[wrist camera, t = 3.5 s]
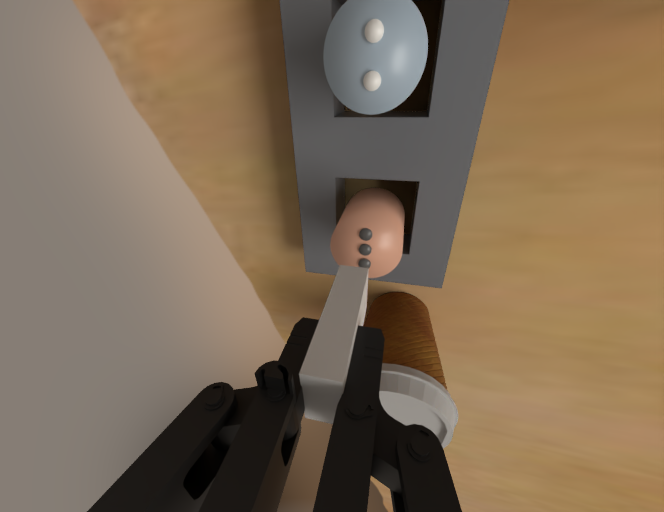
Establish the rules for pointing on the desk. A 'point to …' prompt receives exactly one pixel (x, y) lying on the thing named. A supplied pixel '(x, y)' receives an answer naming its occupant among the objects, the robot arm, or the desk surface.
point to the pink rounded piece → (370, 232)
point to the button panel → (390, 133)
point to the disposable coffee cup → (412, 366)
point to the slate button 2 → (375, 53)
